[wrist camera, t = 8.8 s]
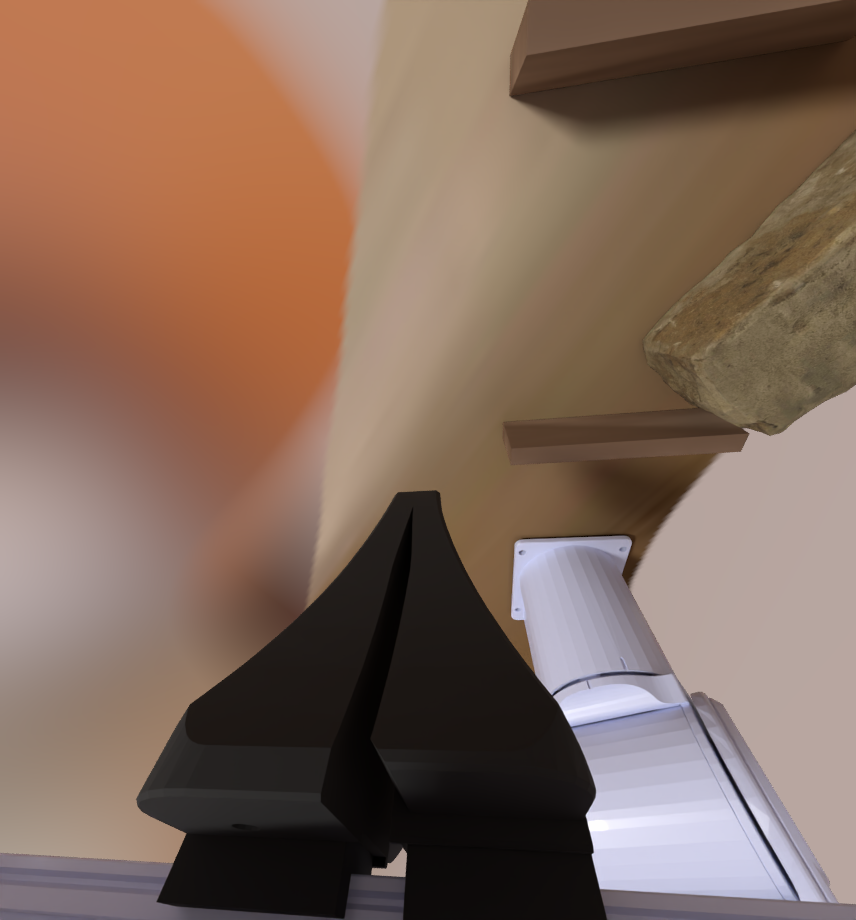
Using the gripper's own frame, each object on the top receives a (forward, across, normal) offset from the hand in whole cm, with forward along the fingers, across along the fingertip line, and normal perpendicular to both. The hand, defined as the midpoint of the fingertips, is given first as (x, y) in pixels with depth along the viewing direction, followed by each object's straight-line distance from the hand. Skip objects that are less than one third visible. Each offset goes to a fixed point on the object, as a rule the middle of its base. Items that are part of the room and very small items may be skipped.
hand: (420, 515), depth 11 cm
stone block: (+10, -16, -4) cm, 19 cm away
